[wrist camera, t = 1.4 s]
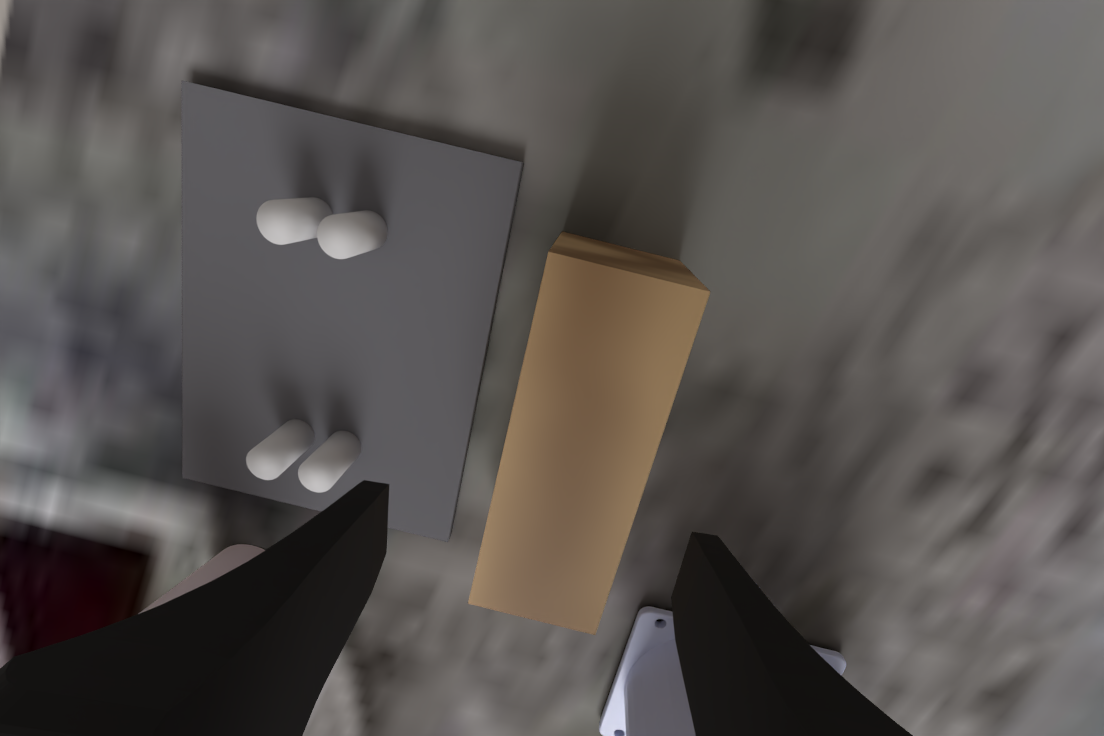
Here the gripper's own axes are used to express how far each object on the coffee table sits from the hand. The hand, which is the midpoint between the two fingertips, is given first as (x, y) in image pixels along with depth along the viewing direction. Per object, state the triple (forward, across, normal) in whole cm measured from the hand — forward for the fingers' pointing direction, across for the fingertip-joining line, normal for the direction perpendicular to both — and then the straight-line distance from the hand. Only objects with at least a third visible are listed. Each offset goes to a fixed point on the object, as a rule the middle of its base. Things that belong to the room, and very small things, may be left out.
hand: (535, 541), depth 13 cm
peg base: (+10, +9, 0) cm, 13 cm away
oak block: (+10, -1, 0) cm, 10 cm away
